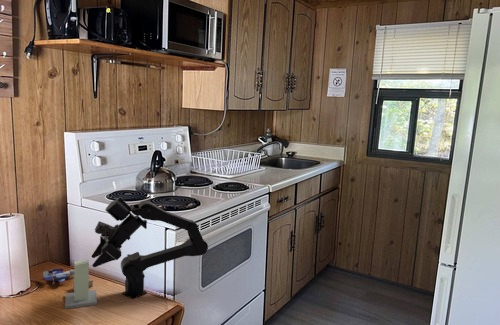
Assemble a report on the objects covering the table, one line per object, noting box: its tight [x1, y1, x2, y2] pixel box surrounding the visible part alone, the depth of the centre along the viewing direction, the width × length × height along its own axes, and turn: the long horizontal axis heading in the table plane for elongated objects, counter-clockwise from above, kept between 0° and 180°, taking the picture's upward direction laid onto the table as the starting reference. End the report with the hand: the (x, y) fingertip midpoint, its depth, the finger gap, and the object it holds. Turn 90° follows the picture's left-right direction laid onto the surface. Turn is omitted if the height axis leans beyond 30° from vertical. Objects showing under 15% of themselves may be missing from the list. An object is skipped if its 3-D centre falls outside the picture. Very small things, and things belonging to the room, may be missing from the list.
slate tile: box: [64, 289, 98, 310], centre depth 137 cm, size 10×10×1 cm
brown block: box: [72, 277, 94, 290], centre depth 147 cm, size 6×3×3 cm, turn 136°
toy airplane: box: [42, 268, 74, 285], centre depth 152 cm, size 13×14×4 cm
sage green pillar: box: [73, 259, 90, 301], centre depth 136 cm, size 4×4×12 cm
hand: (92, 261), depth 137 cm, fingers open, 9 cm apart
